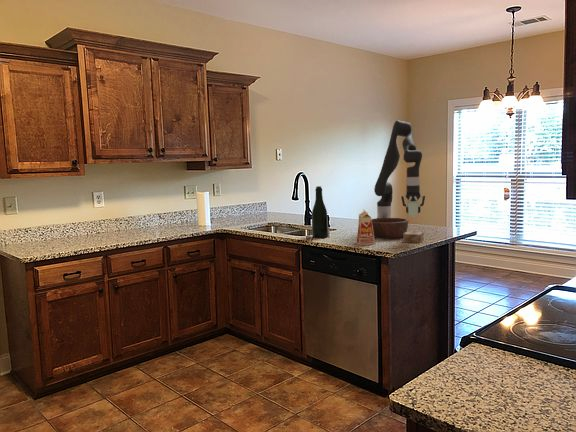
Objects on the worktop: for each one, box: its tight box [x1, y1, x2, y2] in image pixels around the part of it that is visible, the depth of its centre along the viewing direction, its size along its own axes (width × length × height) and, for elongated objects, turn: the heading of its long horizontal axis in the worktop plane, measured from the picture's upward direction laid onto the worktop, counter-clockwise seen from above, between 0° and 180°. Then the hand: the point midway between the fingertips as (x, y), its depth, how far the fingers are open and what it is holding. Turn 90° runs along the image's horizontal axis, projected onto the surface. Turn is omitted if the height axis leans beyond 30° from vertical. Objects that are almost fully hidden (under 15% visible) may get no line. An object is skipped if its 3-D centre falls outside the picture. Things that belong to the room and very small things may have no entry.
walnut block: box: [402, 230, 425, 244], centre depth 285 cm, size 10×10×5 cm
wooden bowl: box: [371, 217, 409, 239], centre depth 306 cm, size 25×25×10 cm
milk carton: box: [355, 208, 375, 246], centre depth 282 cm, size 9×9×20 cm
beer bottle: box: [311, 185, 329, 239], centre depth 311 cm, size 10×10×33 cm
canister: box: [407, 200, 419, 217], centre depth 283 cm, size 6×6×9 cm
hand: (413, 213), depth 284 cm, fingers closed on canister, 5 cm apart
